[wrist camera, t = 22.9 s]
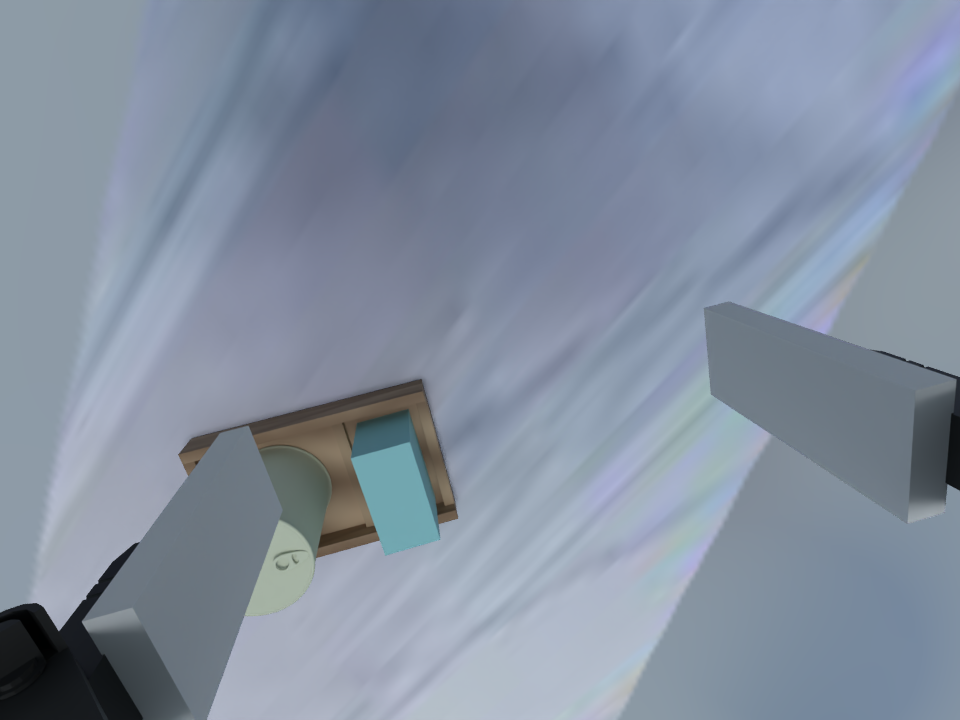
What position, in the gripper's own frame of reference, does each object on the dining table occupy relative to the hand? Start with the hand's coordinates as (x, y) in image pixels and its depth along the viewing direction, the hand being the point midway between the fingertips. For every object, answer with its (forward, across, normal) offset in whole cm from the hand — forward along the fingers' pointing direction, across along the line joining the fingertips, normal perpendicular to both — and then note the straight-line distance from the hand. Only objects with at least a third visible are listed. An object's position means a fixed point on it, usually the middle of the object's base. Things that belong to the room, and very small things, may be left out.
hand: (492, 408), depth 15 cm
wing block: (+34, -8, -18) cm, 39 cm away
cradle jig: (+35, -14, -18) cm, 42 cm away
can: (+34, -19, -18) cm, 43 cm away
